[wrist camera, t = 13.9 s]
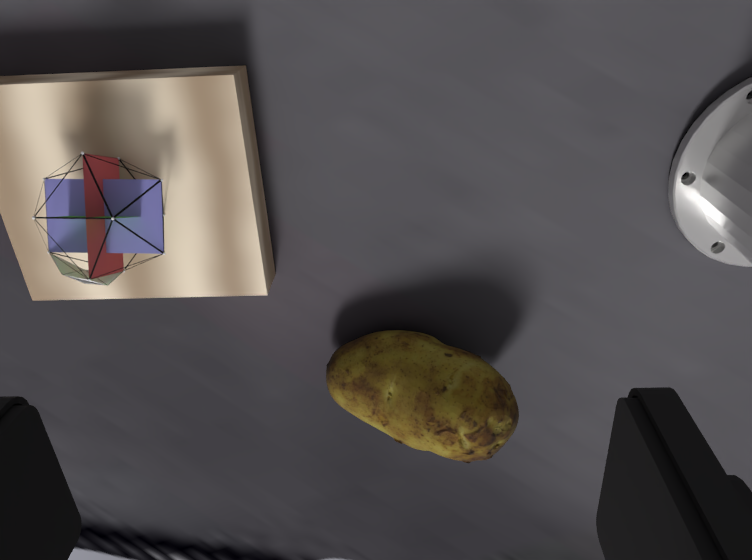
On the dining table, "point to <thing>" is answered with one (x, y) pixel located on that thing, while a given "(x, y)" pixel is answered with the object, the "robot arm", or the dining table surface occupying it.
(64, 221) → the geometric puzzle
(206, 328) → the dining table surface
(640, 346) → the dining table surface
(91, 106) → the birch platform
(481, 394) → the potato
